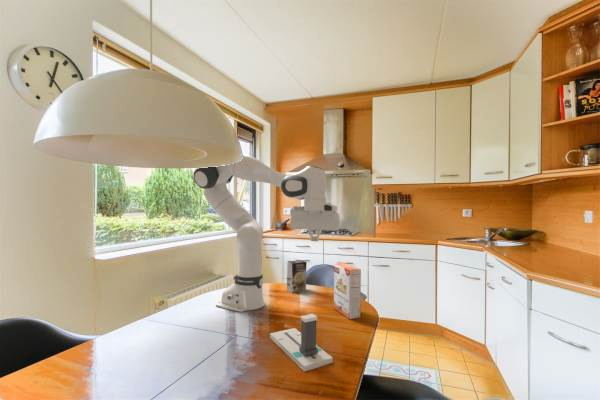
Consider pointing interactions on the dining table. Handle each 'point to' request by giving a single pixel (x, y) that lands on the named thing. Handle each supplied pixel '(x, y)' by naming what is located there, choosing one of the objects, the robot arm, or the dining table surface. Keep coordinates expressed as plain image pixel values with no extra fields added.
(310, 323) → the fader tab
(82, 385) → the dining table surface
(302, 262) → the coffee box
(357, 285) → the cracker box
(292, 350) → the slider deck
